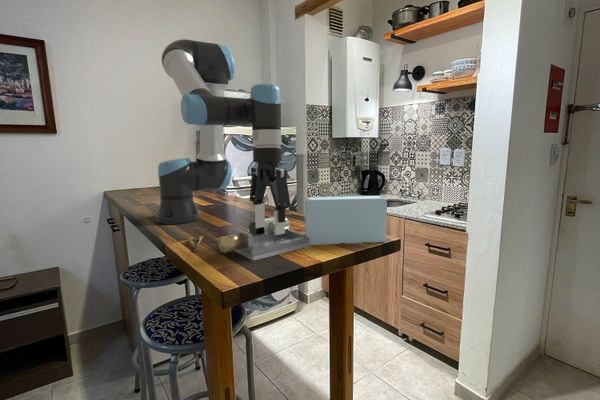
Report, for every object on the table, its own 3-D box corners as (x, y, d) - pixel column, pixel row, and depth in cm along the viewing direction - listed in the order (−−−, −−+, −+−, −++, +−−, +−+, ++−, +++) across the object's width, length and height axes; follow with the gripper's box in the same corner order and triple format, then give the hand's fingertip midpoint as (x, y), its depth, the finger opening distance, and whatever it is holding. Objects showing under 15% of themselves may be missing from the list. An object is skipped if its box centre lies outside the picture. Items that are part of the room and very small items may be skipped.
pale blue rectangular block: (380, 237, 98) (381, 195, 96) (385, 243, 93) (387, 198, 91) (305, 239, 97) (304, 196, 95) (306, 245, 92) (306, 200, 90)
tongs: (190, 254, 86) (190, 247, 86) (188, 241, 98) (188, 235, 98) (207, 252, 87) (206, 245, 87) (203, 240, 99) (202, 233, 99)
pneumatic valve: (298, 213, 98) (274, 216, 107) (265, 220, 91) (244, 222, 100) (301, 232, 98) (277, 232, 107) (269, 240, 91) (247, 240, 100)
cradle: (234, 265, 76) (233, 240, 75) (212, 251, 87) (210, 229, 86) (310, 246, 90) (310, 225, 89) (283, 236, 100) (282, 217, 100)
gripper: (235, 147, 92) (238, 225, 95) (278, 146, 75) (281, 241, 78) (258, 147, 96) (260, 221, 100) (304, 146, 79) (305, 236, 83)
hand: (269, 230), depth 89 cm, fingers open, 9 cm apart
